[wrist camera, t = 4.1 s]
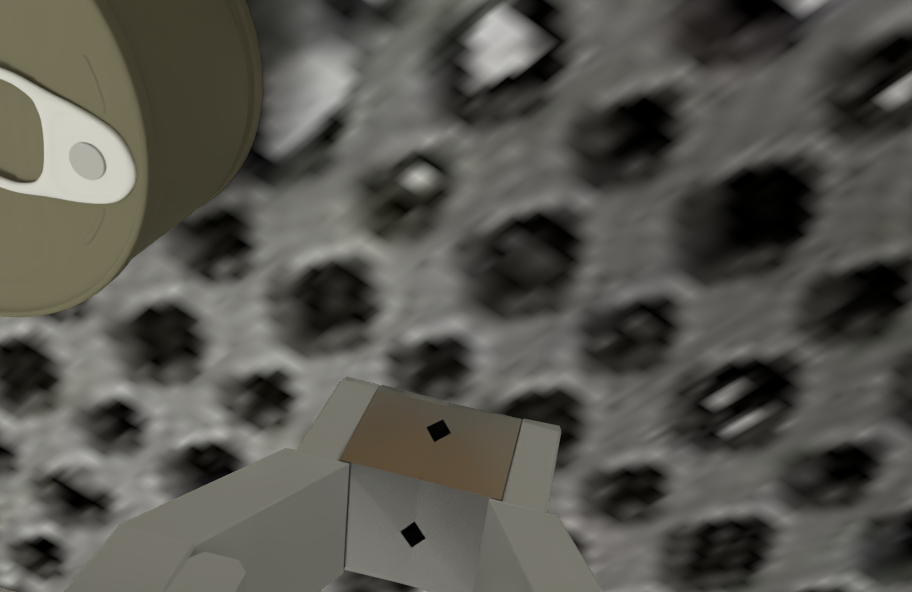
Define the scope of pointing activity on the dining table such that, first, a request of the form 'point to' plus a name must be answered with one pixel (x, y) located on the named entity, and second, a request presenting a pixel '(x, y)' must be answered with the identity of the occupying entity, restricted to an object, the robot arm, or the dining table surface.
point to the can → (113, 133)
